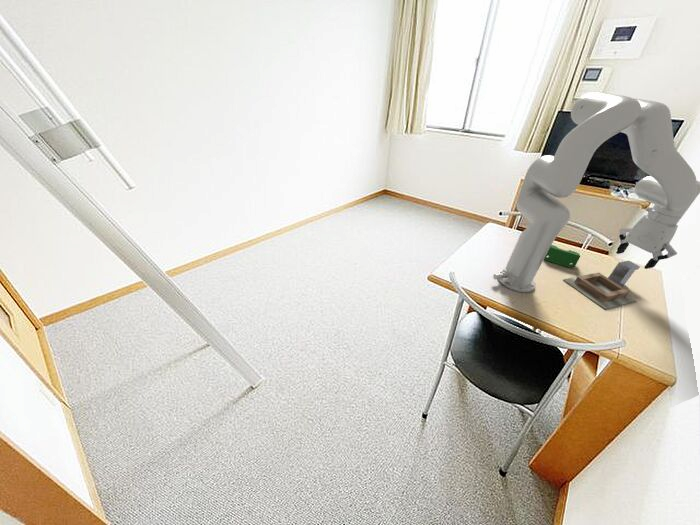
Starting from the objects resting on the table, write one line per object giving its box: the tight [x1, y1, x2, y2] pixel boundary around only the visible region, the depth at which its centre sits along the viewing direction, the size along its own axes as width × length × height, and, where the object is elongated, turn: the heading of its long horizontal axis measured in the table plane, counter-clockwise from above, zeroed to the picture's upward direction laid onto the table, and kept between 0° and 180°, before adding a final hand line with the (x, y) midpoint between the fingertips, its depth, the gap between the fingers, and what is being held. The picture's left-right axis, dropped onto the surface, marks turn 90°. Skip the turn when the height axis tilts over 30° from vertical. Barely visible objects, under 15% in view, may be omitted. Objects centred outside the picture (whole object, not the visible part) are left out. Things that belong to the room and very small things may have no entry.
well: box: [563, 272, 638, 310], centre depth 107 cm, size 16×16×3 cm
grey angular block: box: [607, 260, 641, 286], centre depth 111 cm, size 6×4×8 cm
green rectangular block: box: [544, 244, 581, 269], centre depth 122 cm, size 12×6×9 cm, turn 52°
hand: (633, 260), depth 108 cm, fingers open, 9 cm apart
